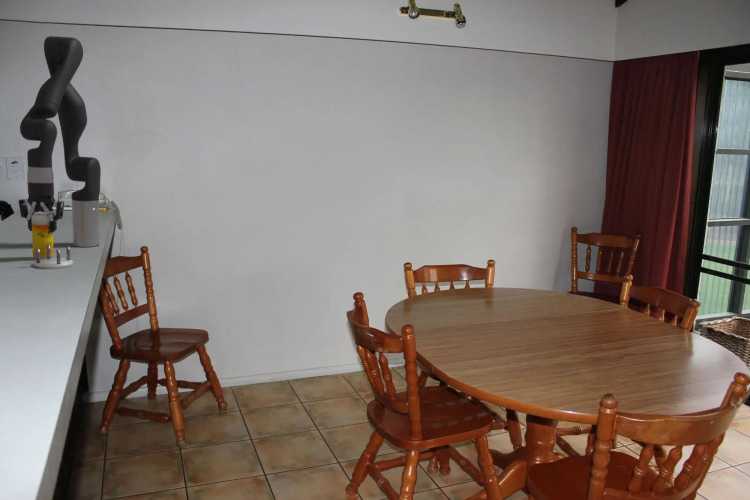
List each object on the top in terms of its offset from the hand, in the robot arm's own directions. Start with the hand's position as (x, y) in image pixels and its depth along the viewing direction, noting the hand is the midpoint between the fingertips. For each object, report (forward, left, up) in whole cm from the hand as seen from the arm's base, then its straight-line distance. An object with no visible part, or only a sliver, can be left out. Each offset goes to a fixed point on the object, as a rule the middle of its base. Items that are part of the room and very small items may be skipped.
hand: (42, 231), depth 198 cm
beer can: (0, 0, -9) cm, 9 cm away
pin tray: (+9, +8, -9) cm, 15 cm away
